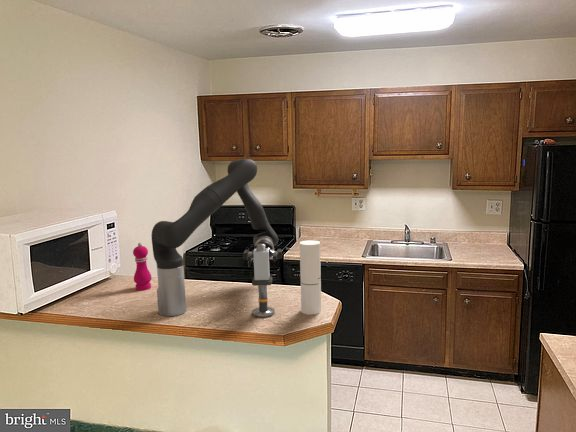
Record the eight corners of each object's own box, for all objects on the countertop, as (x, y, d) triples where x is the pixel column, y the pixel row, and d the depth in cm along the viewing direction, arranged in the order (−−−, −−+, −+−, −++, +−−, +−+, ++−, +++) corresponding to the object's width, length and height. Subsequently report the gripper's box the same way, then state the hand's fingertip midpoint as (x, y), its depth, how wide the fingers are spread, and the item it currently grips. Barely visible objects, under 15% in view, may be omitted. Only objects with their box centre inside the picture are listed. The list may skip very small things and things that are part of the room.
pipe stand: (251, 317, 156) (248, 247, 152) (253, 309, 164) (250, 242, 160) (274, 317, 156) (272, 246, 152) (275, 308, 164) (272, 241, 160)
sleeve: (254, 280, 155) (253, 252, 154) (255, 276, 160) (254, 248, 159) (269, 279, 155) (268, 251, 154) (269, 275, 160) (268, 248, 159)
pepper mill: (148, 284, 197) (144, 239, 194) (155, 288, 192) (151, 242, 189) (132, 288, 193) (128, 242, 190) (138, 292, 187) (134, 245, 184)
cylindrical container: (324, 309, 162) (323, 241, 158) (314, 316, 156) (313, 245, 152) (308, 306, 166) (306, 239, 162) (297, 312, 160) (295, 243, 156)
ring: (251, 286, 155) (251, 281, 154) (253, 280, 162) (252, 275, 161) (272, 285, 155) (271, 281, 154) (272, 279, 162) (272, 275, 161)
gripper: (245, 239, 175) (241, 249, 159) (281, 238, 175) (281, 248, 159) (246, 258, 176) (242, 269, 160) (282, 257, 177) (282, 268, 160)
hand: (261, 259), depth 160 cm, fingers open, 8 cm apart
